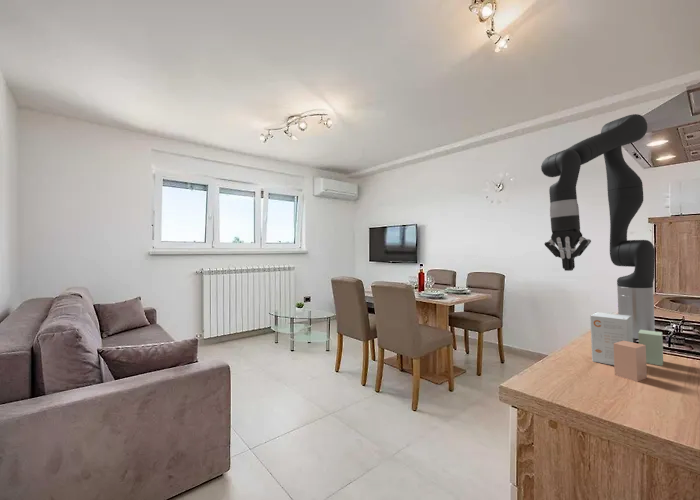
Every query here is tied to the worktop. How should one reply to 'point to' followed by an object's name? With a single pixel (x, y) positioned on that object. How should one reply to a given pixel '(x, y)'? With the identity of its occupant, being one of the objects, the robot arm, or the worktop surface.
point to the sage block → (652, 346)
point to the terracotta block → (630, 360)
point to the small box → (608, 335)
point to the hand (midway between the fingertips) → (568, 270)
